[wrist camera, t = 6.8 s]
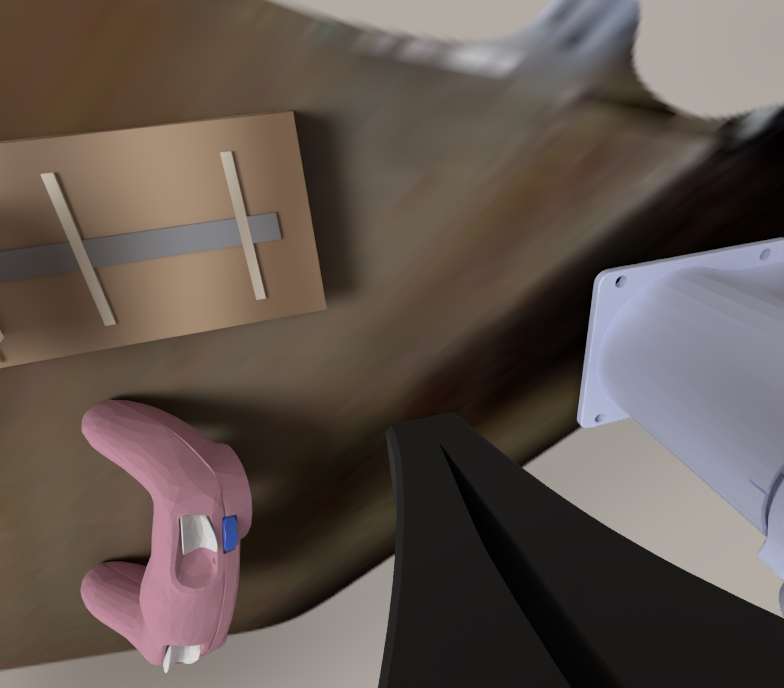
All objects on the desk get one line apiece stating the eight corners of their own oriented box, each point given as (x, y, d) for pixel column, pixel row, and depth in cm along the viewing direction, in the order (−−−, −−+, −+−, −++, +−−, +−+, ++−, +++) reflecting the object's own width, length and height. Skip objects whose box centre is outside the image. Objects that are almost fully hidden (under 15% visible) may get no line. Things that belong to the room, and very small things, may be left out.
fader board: (290, 109, 14) (293, 111, 13) (321, 293, 17) (327, 310, 16) (-219, 165, 12) (-280, 174, 11) (-85, 363, 15) (-119, 391, 14)
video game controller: (184, 546, 23) (248, 674, 19) (74, 586, 20) (121, 750, 16) (206, 373, 19) (293, 485, 15) (74, 391, 16) (135, 537, 12)
